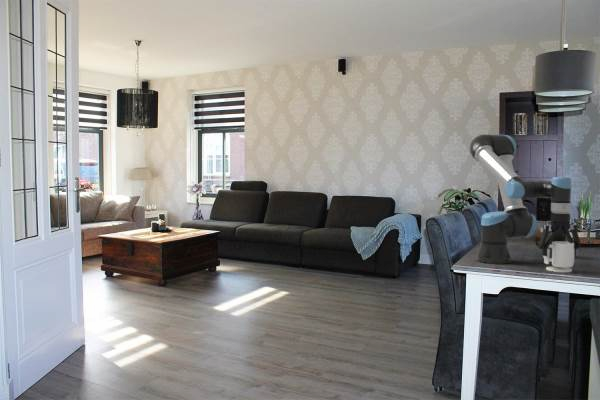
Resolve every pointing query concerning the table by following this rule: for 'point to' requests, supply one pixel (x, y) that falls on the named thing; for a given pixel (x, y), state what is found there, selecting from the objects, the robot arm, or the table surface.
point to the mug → (557, 238)
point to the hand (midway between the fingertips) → (559, 263)
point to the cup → (562, 254)
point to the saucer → (559, 269)
